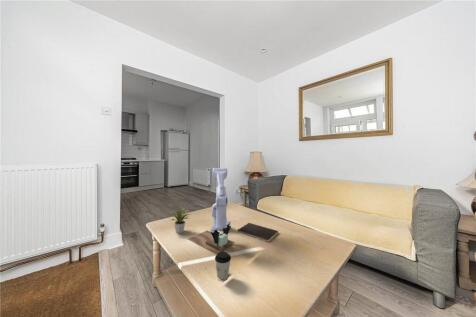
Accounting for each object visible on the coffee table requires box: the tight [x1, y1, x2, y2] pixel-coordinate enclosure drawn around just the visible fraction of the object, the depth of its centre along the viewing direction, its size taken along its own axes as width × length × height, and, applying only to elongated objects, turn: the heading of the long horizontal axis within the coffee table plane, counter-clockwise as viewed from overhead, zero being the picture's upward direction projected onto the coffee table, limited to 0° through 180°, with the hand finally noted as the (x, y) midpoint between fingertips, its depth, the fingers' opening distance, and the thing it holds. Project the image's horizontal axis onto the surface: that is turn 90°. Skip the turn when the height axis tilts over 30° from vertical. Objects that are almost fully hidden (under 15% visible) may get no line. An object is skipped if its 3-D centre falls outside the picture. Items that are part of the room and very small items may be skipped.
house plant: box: [171, 207, 192, 234], centre depth 114 cm, size 14×14×16 cm
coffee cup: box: [214, 251, 232, 282], centre depth 73 cm, size 7×7×10 cm
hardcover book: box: [237, 222, 279, 243], centre depth 116 cm, size 16×23×2 cm
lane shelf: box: [187, 230, 236, 255], centre depth 102 cm, size 16×25×2 cm, turn 52°
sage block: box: [214, 231, 229, 247], centre depth 97 cm, size 5×6×7 cm
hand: (220, 240), depth 97 cm, fingers open, 7 cm apart
